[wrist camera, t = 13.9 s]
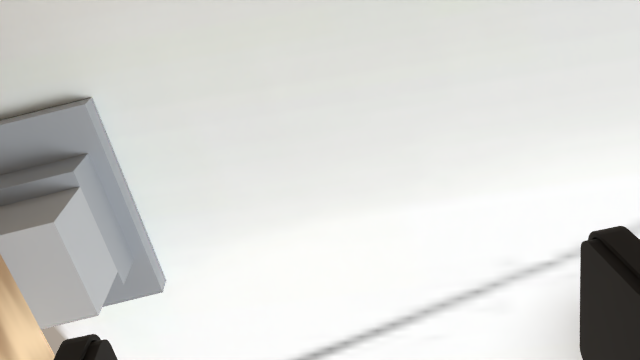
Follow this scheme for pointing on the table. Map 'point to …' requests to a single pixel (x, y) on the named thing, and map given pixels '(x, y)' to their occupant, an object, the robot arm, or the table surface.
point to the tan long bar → (18, 324)
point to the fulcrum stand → (70, 217)
